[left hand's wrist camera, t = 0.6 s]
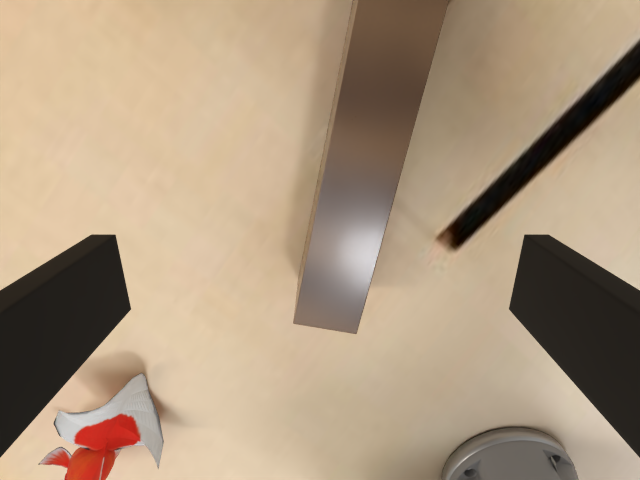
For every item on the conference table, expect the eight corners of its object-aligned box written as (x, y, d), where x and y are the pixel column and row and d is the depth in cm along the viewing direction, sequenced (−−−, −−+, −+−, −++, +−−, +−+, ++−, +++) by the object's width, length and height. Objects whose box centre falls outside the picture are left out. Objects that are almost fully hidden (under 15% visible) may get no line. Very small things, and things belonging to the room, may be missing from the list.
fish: (-6, 453, 39) (-25, 543, 31) (105, 333, 41) (113, 386, 33) (90, 477, 45) (94, 557, 37) (180, 371, 47) (203, 424, 39)
